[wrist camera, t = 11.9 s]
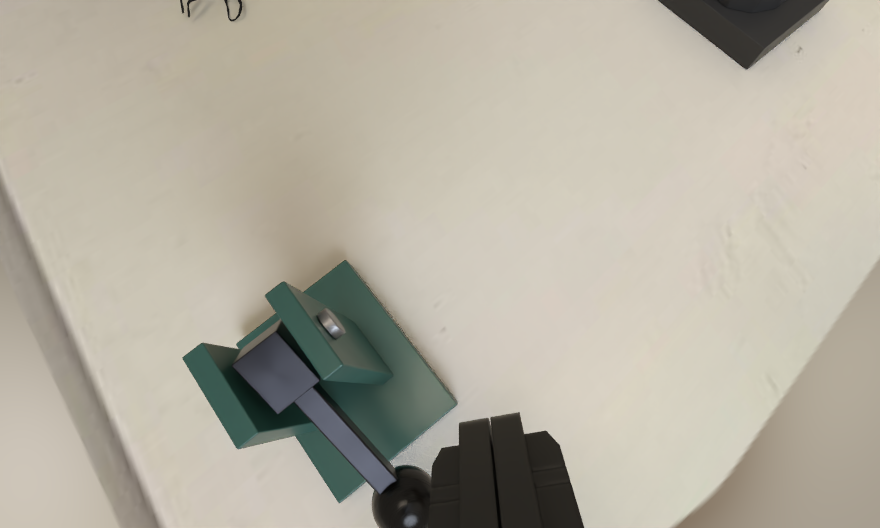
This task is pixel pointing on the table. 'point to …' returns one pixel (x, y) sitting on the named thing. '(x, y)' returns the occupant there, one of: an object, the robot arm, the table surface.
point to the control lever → (333, 425)
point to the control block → (745, 23)
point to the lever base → (331, 376)
